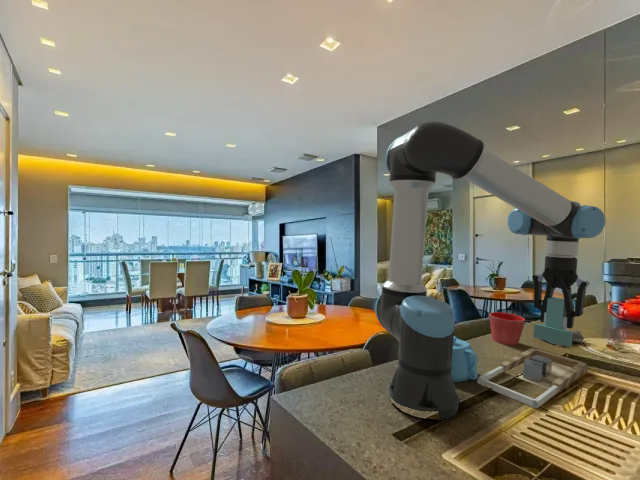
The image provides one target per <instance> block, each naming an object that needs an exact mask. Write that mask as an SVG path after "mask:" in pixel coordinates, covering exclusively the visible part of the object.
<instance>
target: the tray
mask: <svg viewBox="0 0 640 480" xmlns="http://www.w3.org/2000/svg"><path fill="white" fill-rule="evenodd" d="M503 368H504V367H502V366H500V365H499V366H498V367H496V368H494V369H492V370H490V371H488V372H486V373H484V374H482V375H480V376H478V377H477V380H476V384H477V383H480V384H483V385H486V386H490V387H492V390H491V391H494V392H496V393H498V394H501V395H503V396H506V397H508V398H510V399H513V400H515V401H518V402H520V403H522V404H525V405H527V406H529V407H531V408H534V409H538V408H540V407H542V405H543V404H545V403H546V402H548V401H549V400H550V399H551V398H553V397H554V396H555V395H557V391H558V386H555V385H554V386H552V387H551V388H549V389H547V390H545V391H543V392H542V394H540V395H539V396H537V397H536V398H532V397H530V396H527V395H525V394H523V393H520V392H518V391H515V390H513V389H510V388H508V387H505V386H502V385H501V384H497V383H495V382H492V381H490V380H491V379H490V378H492V377H494V376H496V375H497V374H499V373H501V372H503ZM501 374H502V373H501ZM496 377H497V376H496ZM494 378H495V377H494ZM488 379H490V380H488ZM492 379H493V378H492Z"/></svg>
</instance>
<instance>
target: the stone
mask: <svg viewBox="0 0 640 480" xmlns="http://www.w3.org/2000/svg"><path fill="white" fill-rule="evenodd" d="M569 331H570V332H572V343H579V344H581V343H584V339H585V337H583V335H582V333H581V332H580V330H577V329H575V330H572V331H571V330H569ZM546 342H547V343H549V344H552V345H553V344H555V345H559V346H563V347H564V345H560V344H556V343H553V342H549V341H546ZM555 345H554V346H555ZM559 346H558V347H559Z"/></svg>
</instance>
